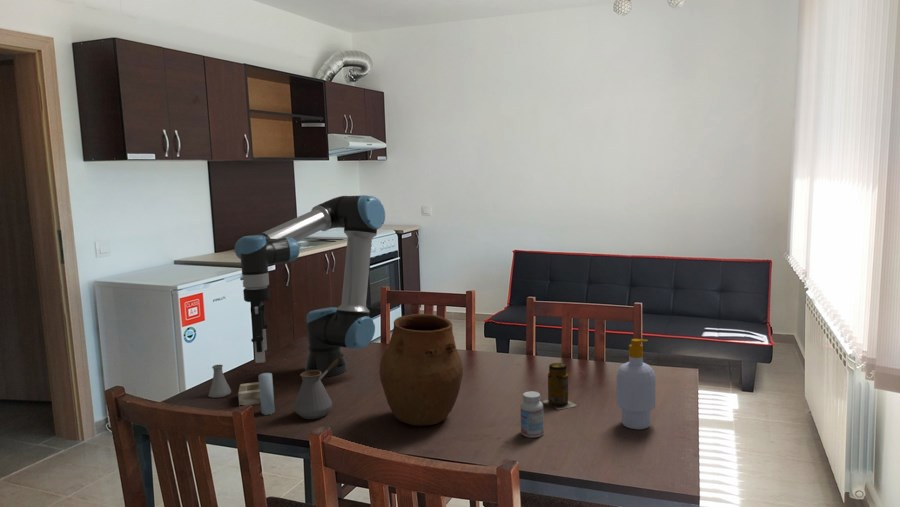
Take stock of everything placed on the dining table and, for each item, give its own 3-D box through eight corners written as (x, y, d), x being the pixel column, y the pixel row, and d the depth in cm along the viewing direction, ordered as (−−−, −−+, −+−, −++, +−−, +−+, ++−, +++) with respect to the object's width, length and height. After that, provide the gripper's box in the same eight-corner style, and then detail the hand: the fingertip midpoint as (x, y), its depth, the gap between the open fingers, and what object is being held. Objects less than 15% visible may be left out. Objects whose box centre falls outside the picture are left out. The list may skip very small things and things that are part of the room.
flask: (224, 398, 213) (221, 369, 211) (204, 398, 214) (201, 368, 213) (235, 391, 220) (233, 362, 218) (216, 390, 221) (213, 362, 220)
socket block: (272, 392, 217) (271, 380, 217) (271, 402, 208) (270, 390, 207) (241, 395, 215) (240, 384, 214) (239, 406, 205) (238, 394, 205)
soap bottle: (658, 433, 173) (658, 345, 170) (618, 431, 175) (617, 344, 171) (652, 418, 183) (653, 335, 180) (615, 417, 185) (615, 334, 182)
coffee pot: (314, 424, 188) (311, 374, 186) (286, 417, 194) (282, 369, 192) (361, 400, 206) (358, 354, 204) (333, 395, 212) (330, 350, 210)
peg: (274, 409, 201) (272, 372, 200) (274, 414, 197) (271, 376, 196) (261, 411, 200) (258, 373, 199) (261, 415, 196) (258, 377, 195)
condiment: (561, 397, 202) (560, 360, 200) (577, 406, 195) (577, 367, 193) (541, 401, 199) (540, 364, 197) (557, 410, 191) (557, 371, 190)
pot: (434, 443, 172) (430, 333, 168) (364, 427, 185) (358, 324, 181) (479, 412, 192) (475, 313, 188) (413, 399, 205) (408, 307, 201)
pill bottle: (519, 430, 178) (518, 390, 177) (540, 428, 179) (540, 389, 177) (523, 439, 172) (522, 398, 171) (546, 437, 173) (545, 397, 171)
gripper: (245, 281, 205) (251, 346, 208) (239, 295, 181) (245, 369, 184) (270, 279, 207) (275, 344, 210) (267, 293, 183) (273, 366, 185)
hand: (261, 356), depth 197 cm, fingers open, 13 cm apart
